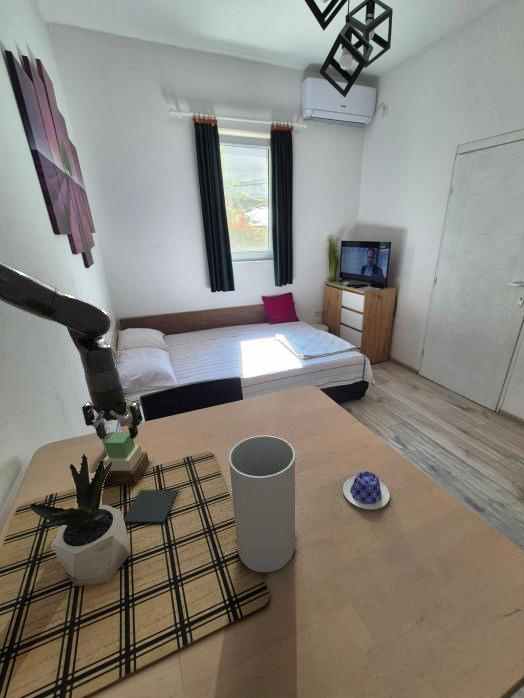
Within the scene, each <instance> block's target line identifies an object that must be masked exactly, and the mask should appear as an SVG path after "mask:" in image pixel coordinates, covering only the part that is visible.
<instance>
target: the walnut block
mask: <svg viewBox="0 0 524 698" xmlns="http://www.w3.org/2000/svg"><path fill="white" fill-rule="evenodd" d="M148 455H149V454H148V452H147V451H146V452H145V451H144V452H143V451H142V456H141V457H140V458H139V460H138V461H137V463H136V464H135V466H134V467H133V469H132V470H131V471H109V473H108V475H107V477H106V479H105V482H104V483H103V485H104V486H105V485H111V486H112V485H117V486H118V485H119V486H123V485H125V486H136V485H137V484H138V482H139V481H140V479H141V477H142V476H143V474H144V473H145V471H146V470H147V468H148V467H149V465H150V459H149V456H148Z"/></svg>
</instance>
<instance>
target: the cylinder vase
mask: <svg viewBox="0 0 524 698" xmlns="http://www.w3.org/2000/svg"><path fill="white" fill-rule="evenodd" d="M228 464H229V473H230V474H229V475H230V483H231V495H232V504H233V505H232V506H233V515H234V524H235V535H236V546H237V553H238V557H239V559H240V561H241V562H242V563H243V564H244V566H246V567H247V568H248V569H249V570H252V571H254V572H258V573H271V572H276V571H278V570H280V569H281V568H283V567H285V565H286V564H288V563H289V562H290V560H291V559H292V558H293V555H294V553H295V547H296V452H295V449H294V446H292V444H291V443H290V442H288V441H287V440H286V439H284V438H281V437H279V436H275V435H267V434H266V435H263V434H262V435H255V436H250V437H248V438H244V439H242V440H241V441H239V442H237V444H235V445H234V446H233V447H232V449H231V450H230V452H229V455H228Z"/></svg>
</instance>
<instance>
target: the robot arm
mask: <svg viewBox="0 0 524 698" xmlns="http://www.w3.org/2000/svg"><path fill="white" fill-rule="evenodd" d="M0 301H1V302H3V303H5V304H7V305H9V306H11V307H13V308H16V309H18V310H21V311H23V312H25V313H28V314H30V315H33V316H36V317H37V318H40V319H44V320H47V321H50V322H54V323H57V324H59V325H61V326H63V327H65V328H66V330H67V332H68V334H69V337H70V339H71V341H72V342H73V345H74V347H75V348H76V349H77V351H78V354H79V358H80V362H81V365H82V369H83V373H84V379H85V383H86V387H87V390H88V393H89V397H90V400H91V401H88V402H86V403H85V404H84V405H82V406H81V411H82V414H83V419H84V423H85V425H86V426H87V427H90V426H92V427H93V428H94V429H95V433H96V436H97V437H98V438H99V439H100V440H102V439H104V437H105V436H106V430H105V427H104V420H105V421H112V420H119V423H120V424H125V426H127V429H128V432H129V433H130V437H131V439H133V440H135V439H136V438H137V436H138V434H139V429H138V426H140V425H141V423H142V422H143V420H144V417H143V415H142V412H141V409H140V404H139V402H138V401H133V403H127V401H126V400H125V391H124V388H123V383H122V380H121V375H120V372H119V368H118V367H117V363H116V359H115V355H114V351H113V349H112V347H111V345H110V344H109V343H107V341H105V340H104V336H105V335H106V334H107V333H108V332H109V331H110V329H111V326H112V321H111V318H110V315H109V314H108V313H107V312H106V311H105V310H104V309H103V308H101V307H99V306H96V305H94V304H92V303H90V302H87V301H85V300H83V299H81V298H77V297H75V296H72V295H70V294H68V293H66V292H64V291H62V290H60V289H58V288H57V287H55V286H53V285H51V284H49V283H46V282H45V281H42V280H41V279H39V278H36V277H35V276H33V275H31V274H29V273H26V272H23V271H21V270H19V269H18V268H14V267H13V266H10V265H8V264H6V263H4V262H2V261H0ZM95 412H96V413H97V414H98V415H97V417H96V415H95Z"/></svg>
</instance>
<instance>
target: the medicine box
mask: <svg viewBox="0 0 524 698" xmlns="http://www.w3.org/2000/svg"><path fill="white" fill-rule="evenodd" d="M103 424H104V427H105V430H106V436H105V437H104V439H101V442H102V445H103V449H104V452H105V455H106V456H107V455H108V454H107V450H106V446H105V442H106V441H107V439H108V438H109V437H110V436H111V435H112V434H113V433H114V432H123V431H122V426H121V422H120V421H119V420H112V419H111V420H106V421H103Z"/></svg>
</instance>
